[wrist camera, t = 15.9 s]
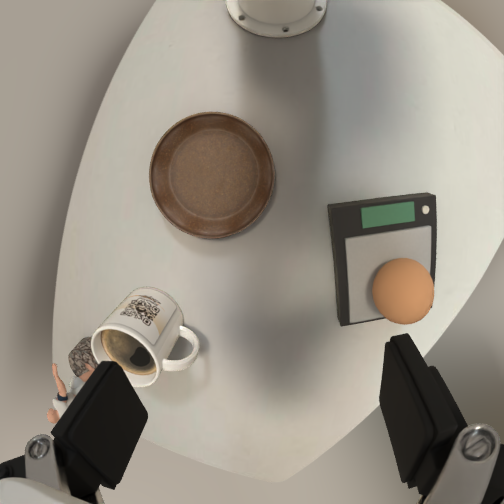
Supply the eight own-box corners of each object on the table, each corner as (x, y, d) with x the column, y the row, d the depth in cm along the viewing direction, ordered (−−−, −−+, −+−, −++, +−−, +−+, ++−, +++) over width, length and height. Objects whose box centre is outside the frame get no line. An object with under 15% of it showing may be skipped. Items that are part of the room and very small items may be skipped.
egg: (404, 237, 32) (436, 262, 24) (424, 282, 34) (453, 315, 26) (355, 269, 34) (375, 303, 26) (378, 312, 35) (399, 351, 27)
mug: (153, 270, 40) (117, 309, 29) (210, 330, 42) (192, 381, 32) (114, 307, 43) (79, 346, 32) (166, 359, 45) (143, 405, 35)
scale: (327, 204, 35) (331, 209, 32) (427, 192, 33) (438, 196, 30) (337, 317, 40) (341, 329, 37) (425, 299, 38) (433, 310, 35)
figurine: (77, 318, 44) (18, 379, 27) (118, 335, 44) (64, 408, 28) (83, 372, 49) (40, 431, 32) (119, 389, 49) (81, 454, 33)
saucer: (211, 91, 31) (206, 86, 29) (300, 173, 34) (302, 175, 31) (136, 178, 36) (126, 180, 33) (217, 255, 38) (212, 262, 36)
